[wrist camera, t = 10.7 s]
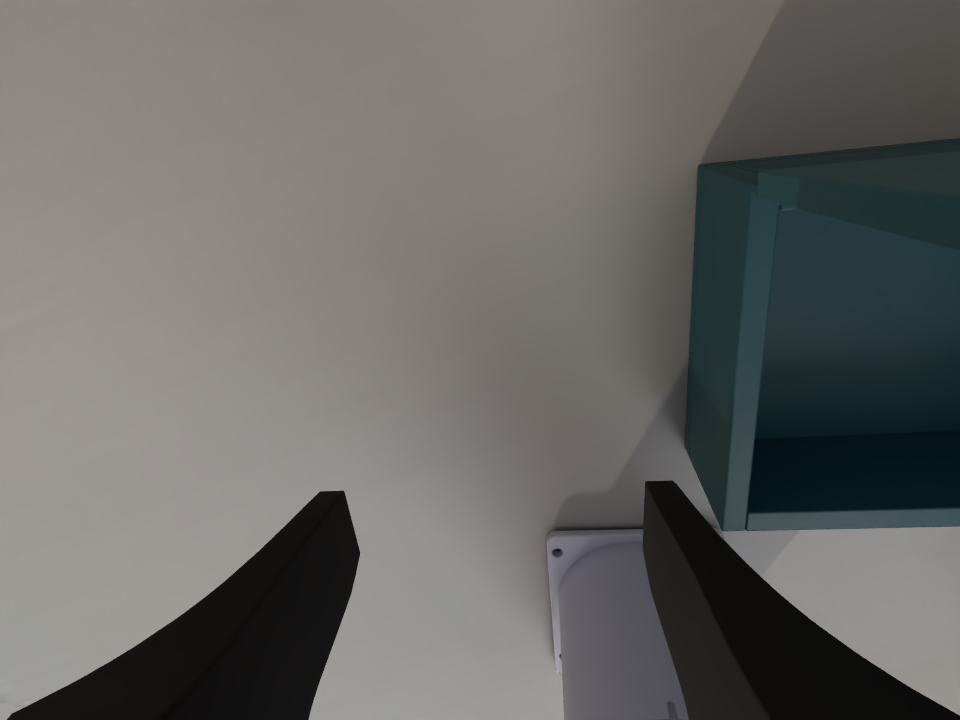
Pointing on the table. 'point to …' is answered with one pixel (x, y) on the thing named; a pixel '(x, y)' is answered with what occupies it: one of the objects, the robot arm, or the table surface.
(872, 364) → the cool box
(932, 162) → the cool box lid
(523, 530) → the table surface
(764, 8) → the table surface
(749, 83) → the table surface
